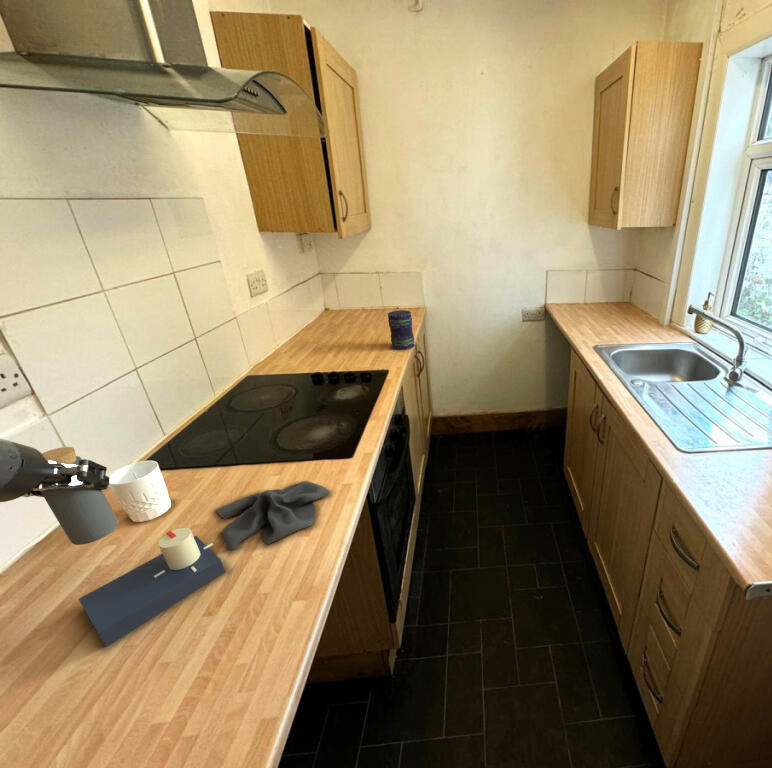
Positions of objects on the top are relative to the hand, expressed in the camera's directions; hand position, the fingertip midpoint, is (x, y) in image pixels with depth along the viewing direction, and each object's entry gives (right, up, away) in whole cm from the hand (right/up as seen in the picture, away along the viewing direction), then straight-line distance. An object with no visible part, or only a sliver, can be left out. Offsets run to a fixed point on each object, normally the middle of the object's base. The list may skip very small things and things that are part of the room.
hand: (81, 487), depth 67 cm
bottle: (+1, -8, +2) cm, 8 cm away
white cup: (-6, -10, +20) cm, 24 cm away
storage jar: (+21, +33, +116) cm, 123 cm away
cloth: (+19, -10, +19) cm, 29 cm away
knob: (+13, -14, +4) cm, 19 cm away
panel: (+11, -18, +2) cm, 21 cm away
